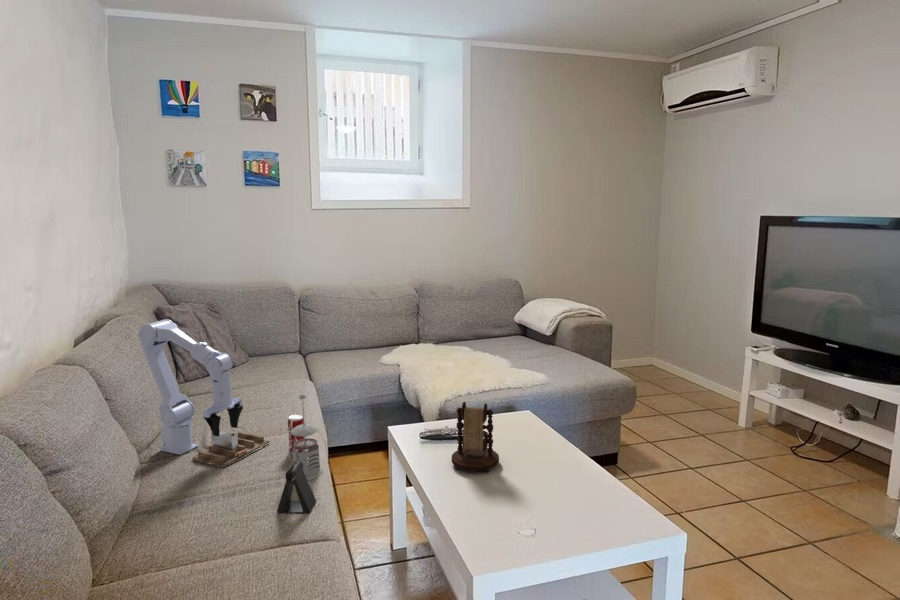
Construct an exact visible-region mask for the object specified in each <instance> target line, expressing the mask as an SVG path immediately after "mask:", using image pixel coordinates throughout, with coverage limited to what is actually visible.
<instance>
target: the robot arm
mask: <svg viewBox="0 0 900 600" xmlns="http://www.w3.org/2000/svg"><path fill="white" fill-rule="evenodd" d="M137 337H138V338H139V342H140V343H141V346H142V348H141V349H142V352H143V354H144V357H145V360H146V361H147V365H148V367H149V370H150V372H151V374H152V377H153V379H154V381H155V384H156V386H157V388H158V391H159V393H160V395H161V398H162V401H161V403H160V405H159V407H158V409H159V413H160V421H161V422H162V424H163V425H162V427H161V430H160V437H161V446H162V448H160V451H161V452H166V453H171V454H175V455H182V454H185V453H186V452H189V451H191V450H193V449H196V448H197V447H199V444H198V443H193V434H192V423H191V422H192V421H193V419H192V418H193V417H194V415H195V413H196V410H195V406H194V404H193V403H192V402H191V401H190V399H189V397H188V395H185V394H183V393H181V392H180V390H179V389H180V388H178V385H177V383H176V380H175V377H174V375H173V373H172V370H171V368H170V365H169V363H168V360H167V358H166V356H165V354H164V348H165V345H166V344H167V343H168V342H172V343H174V344H175V345H178V347H179V346H180V347H181V348H183V349H184V350H187V351H189V355H190V357H191V358H192V359H194V360H195V361H197V362H198V363H200V364H202V365H203V366H205V368H206V371H207V372H208V374H209V377H210V381H211V389H212V402H213V405H211V406H210V407H208V408H206V409H205V410H203V412H202V414H203V419H204V420H205V421H206V422H207V424H208V426H209V428H210V430H211V433H213V436H219V434H220V431H221V430H220V426H221V425H220V424H221V423H220V422H221V418H222V416H221V415H218V414H219V413H221V412H224V411H225V410H227V413H228V417H229V424H230V428H233V429H234V428H235V429H237V428H238V425H239V418H240V415H241V414H242V411H243V409H244V406H243V405H242V404H243V398H242V397H235V398H233V395H232V393H233V392H232V382H231V380H232V379H231V369H232V368H233V365H234V360H233V357H232V356H231V355H230V354H229V353H228V352H221V351H220V352H219V351H218V350H216V349H215V348H213V347H211V346H209V344H208V343H207V342H204V341H200V342H199V341H198V342H196V341H195V340H194V339H192V338H191V337H190V336H188V334H186V333H185V332H184V331H182V330H181V329H180V328H178V325H177V323H175V322H173V321H172V320H171V319H167V318H164V319H161V320H158V321H154V322H151V323H145V324H142V325H141V326H140V329H139V330H138V333H137Z"/></svg>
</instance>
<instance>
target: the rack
mask: <svg viewBox="0 0 900 600" xmlns="http://www.w3.org/2000/svg"><path fill="white" fill-rule="evenodd" d="M237 438H238V451H239V452H237V453H235V451H232V450H228V449H223V448H219V447H214V446H212V445H209V446H207V448H208V449H207V450H205V451H203V450H198V451H197V455H194V456H193V457H192V461H194V460H196V461H195V462H198V461H201V462H200V463H202V462H206V463H211V464H215V465H219V466H223V467H225V468H227V467H228V466H227V465H229V464H230V463H232V462H234V461H236V460H238V459H240V458H242V457H244V456H245V455H247V454H249V453H251V452H253V451H254V450H256V449H258V448H260V447H261V446H263V445H265V444H267V443H269V442H270V440H265V437H264V436H263V435H258V434H252V433H249V432H247V433H246V432H242V431H238V432H237ZM270 443H271V442H270ZM244 458H245V457H244ZM242 459H243V458H242ZM240 460H241V459H240ZM206 463H205V464H206ZM211 464H210V465H211ZM215 465H214V466H215ZM219 466H218V467H219ZM226 466H227V467H226ZM229 466H230V465H229ZM223 467H222V468H223Z"/></svg>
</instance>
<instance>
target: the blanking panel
mask: <svg viewBox="0 0 900 600" xmlns="http://www.w3.org/2000/svg"><path fill="white" fill-rule="evenodd" d="M210 434H211V435H210V437H211V438H210V439H211V446H214V447H219V448H223V449H228V450H232V451H235V453H237V452H239V451H238V438H237V436H238V433H237V434H236V433H232V432H228V431H223V430H220V434H219V436H213V433H212V432H210Z"/></svg>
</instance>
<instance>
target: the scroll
mask: <svg viewBox="0 0 900 600" xmlns="http://www.w3.org/2000/svg"><path fill="white" fill-rule="evenodd" d="M456 415H457V422H456V428H457V430H458V431H457V438H456V440H457V445H458V446H457V450H455V451H454V452H453V453H452V454H451V463H452V465H454V466H455V469H456V470H459V469H462V470H466V471H486V473H489V472H490V469H492V468H495V467H496V466H497V465H499V463H500V455H499V453H497V452H496V450H495V451H494V450H493V449H494V448H493V444H494V439H493V433H492V432H493V431H494V424H493V422H494V421H493V417H494V416H493V415H494V411H493V409H488V404H487V403H486V402H485V403H484V405H483V407H470V406H467V403H466V401H463V402H462V404H461V407H458V408H457V409H456ZM487 418H488V419H487ZM486 422H487V424H486V425H485V423H486ZM462 430H463V431H462ZM484 430H487V431H485V433H484Z"/></svg>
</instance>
